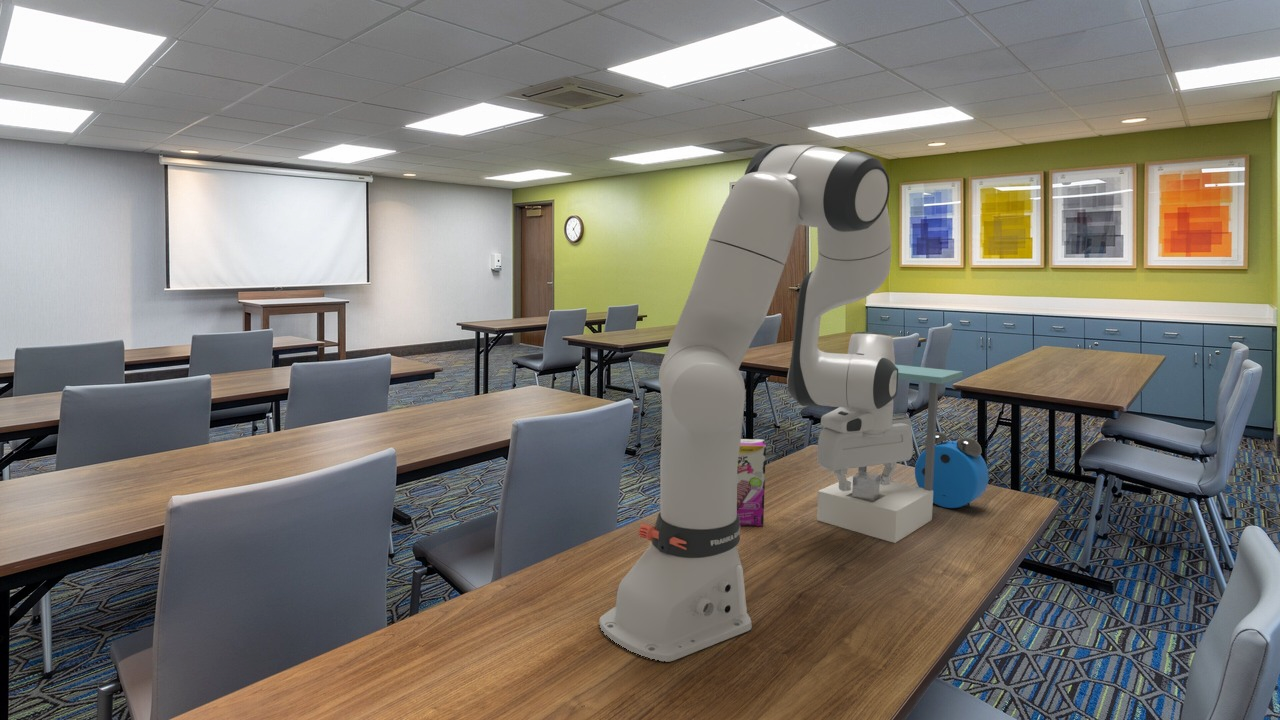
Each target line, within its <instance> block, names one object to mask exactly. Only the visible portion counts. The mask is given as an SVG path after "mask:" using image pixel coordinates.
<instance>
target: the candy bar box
mask: <svg viewBox="0 0 1280 720" xmlns="http://www.w3.org/2000/svg"><path fill="white" fill-rule="evenodd" d="M766 457H767V445H766V442H765V439H759V438H758V439H756V438H755V439H753V438H741V442H740V449H739V456H738V467H737V514H738V516H739V521H740V526H741V527H742V526H745V527H746V526H748V527H750V526H751V527H763V526H764V521H765V520H764V519H765V516H764V515H765V495H766V494H765V490H766Z"/></svg>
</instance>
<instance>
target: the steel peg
mask: <svg viewBox="0 0 1280 720" xmlns="http://www.w3.org/2000/svg"><path fill="white" fill-rule="evenodd" d="M879 474H880V473H879ZM879 474H878V473H871V472H867V471H866V472H860V471H859V472H858V471H857V472H856V474H853V475H854V476H853V475H852V476H853V488H852V498H856V499H860V500H864V501H868V502H872V503H873V502H875V501H877V500H878V499H879V489H880V475H879Z"/></svg>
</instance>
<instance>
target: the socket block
mask: <svg viewBox="0 0 1280 720" xmlns="http://www.w3.org/2000/svg"><path fill="white" fill-rule="evenodd" d="M895 366H896V367H897V368H898V380H904V381H912V382H921V383H929V389H928V390H929V392H928V406H927V407H928V408H927V424H926V425H927V427H926V428H927V429H926V437H927V443H926V447H925V450H926V462H925V481H924V488H920V487H919V486H914V485H911V484H906V483H902V482H897V481H892V480H891V481H890V484H889V485H882V484H880V489H879V499H878V500H877V501H875V502H873V503H872V502H868V501H864V500H860V499H856V498H852V488H853V476H854V475H855V474H853V475H851V476H849V477H846V479H847V481H850V482H851V486H850V487H851V490H849V491H841V490H840V489H839V481H837V482H836V483H833V484H830V485H829V486H826V487H823V488H821V489H819V490H817V506H816V507H817V509H816V521H818V522H823V523H826V524H827V525H828V524H829V525H832V526H835V527H839V528H842V529H845V530H848V531H853V532H856V533H860V534H863V535H866V536H870V537H873V538H876V539H880V540H883V541H887V542H890V543H894V544H896V543H898V542H899V541H901V540H902V539H904V538H906V537H907V536H909V535H910V534H912V533H913V532H914V531H917V530H918V529H920V528H921V527H923V526H925V525H926V524H927V523H929V522H931V521H932V520H933V504H934V503H933V474H934V456H935V445H936V444H935V438H936V433H937V415H938V397H939V385H943V384H946V383H949V382H952V381H956V380H959V379H963V375H964V374H963V372H964V371H961V370H952V369H951V370H950V369H942V368H933V367H924V366H912V365H905V364H904V365H903V364H895ZM867 467H868V466H865V467H858V469H857V470H858V471H857V473H858V472H859V471H860V472H867Z"/></svg>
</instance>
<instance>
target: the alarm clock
mask: <svg viewBox="0 0 1280 720" xmlns="http://www.w3.org/2000/svg"><path fill="white" fill-rule="evenodd" d="M949 439H950V440H949ZM923 441H924V442H923V443H924V447H925V448H926V443H927V436H926V437H925V438H924V440H923ZM979 443H980V442H978V441H976V440H975V439H973V438H971V437H961V438H960V439H958V440H956V437H952V436H951V437H950V438H948V436H947V434H946V433H943V432H939V431H938V432H937V431H936V438H935V456H934V474H933V504H934V505H937V506H939V507H942V508H945V509H946V508H947V509H957V508H961V507H963V506H966V505H968V507H969V508H970V507H971V506H972V505H971V502H973V501H976V499H978V498H979V497H981V496H982V495H983V493H985V491H986V489H987V487H988V485H989V484H988V483H989V479H990V478H989V476H990V475H989V469H988V466H987V463H986V461H985V459H984V458H983V456H982V455H981V454H982V453H983V452H982V447H981V444H979ZM925 462H926V449H925V450H923V451H922V452H921V453H920V454H919V456H918V457H917V459H916V461H915V464H914V465H915V466H914V477H915V480H916V484H917V487H920V488H924V481H925Z"/></svg>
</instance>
